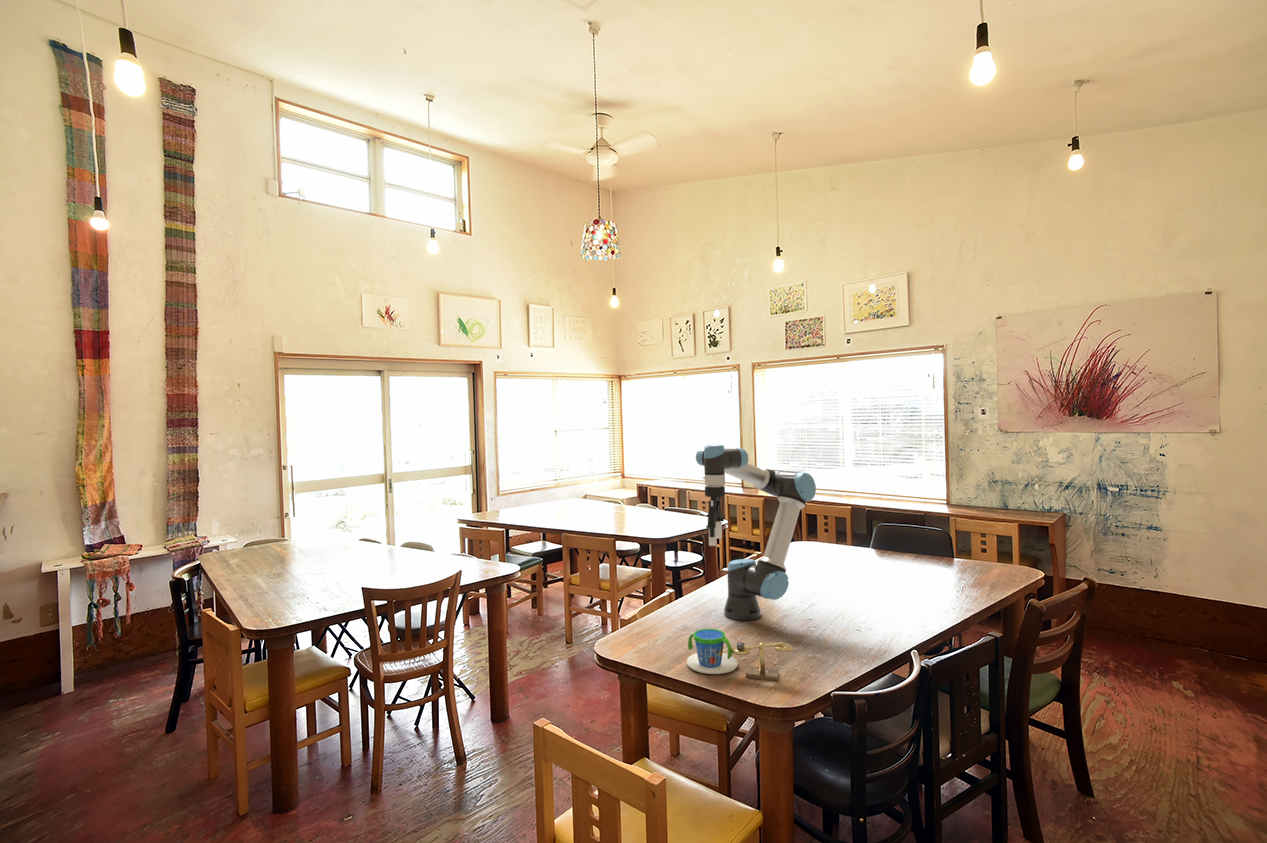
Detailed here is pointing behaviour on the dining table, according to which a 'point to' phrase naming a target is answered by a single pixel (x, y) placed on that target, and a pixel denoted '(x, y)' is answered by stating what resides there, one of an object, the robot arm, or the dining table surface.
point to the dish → (725, 667)
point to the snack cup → (710, 646)
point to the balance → (761, 659)
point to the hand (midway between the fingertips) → (715, 542)
